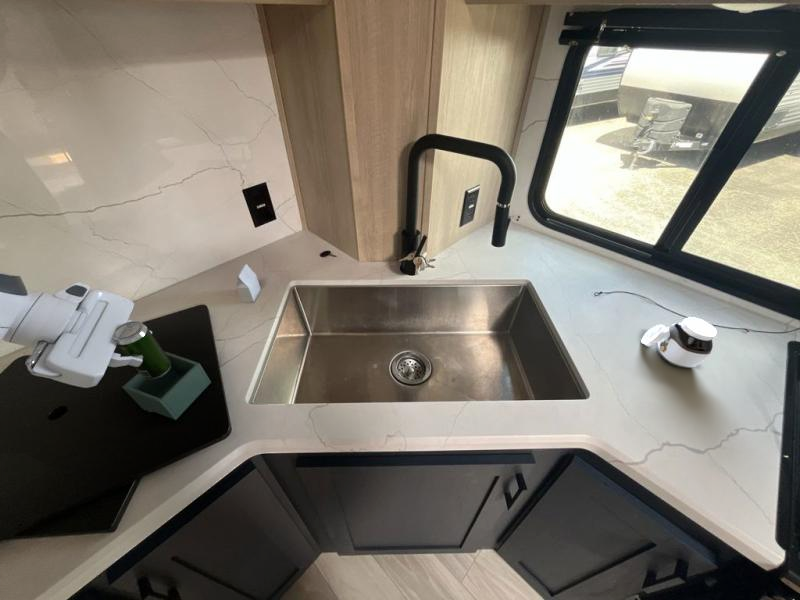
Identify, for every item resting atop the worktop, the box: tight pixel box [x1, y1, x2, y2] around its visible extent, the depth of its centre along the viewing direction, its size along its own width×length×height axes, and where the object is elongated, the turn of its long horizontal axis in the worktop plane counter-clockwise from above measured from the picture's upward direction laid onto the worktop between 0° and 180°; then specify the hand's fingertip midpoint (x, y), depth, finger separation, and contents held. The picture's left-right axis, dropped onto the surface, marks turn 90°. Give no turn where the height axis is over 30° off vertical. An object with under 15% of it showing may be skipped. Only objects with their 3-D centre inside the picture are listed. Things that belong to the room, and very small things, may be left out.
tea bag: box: [235, 263, 262, 304], centre depth 99 cm, size 4×7×10 cm, turn 1°
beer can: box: [112, 320, 171, 379], centre depth 63 cm, size 5×5×12 cm
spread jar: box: [641, 316, 718, 369], centre depth 84 cm, size 12×11×12 cm
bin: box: [121, 350, 212, 421], centre depth 72 cm, size 10×10×9 cm
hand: (146, 348), depth 63 cm, fingers closed on beer can, 5 cm apart
